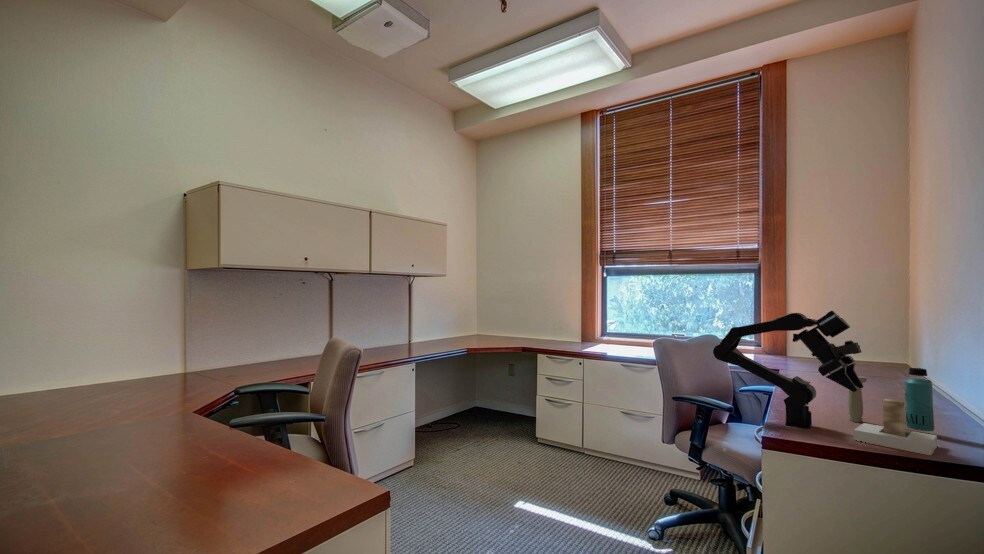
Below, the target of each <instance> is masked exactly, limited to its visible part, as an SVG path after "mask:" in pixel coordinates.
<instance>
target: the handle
mask: <svg viewBox="0 0 984 554" xmlns="http://www.w3.org/2000/svg"><path fill="white" fill-rule="evenodd" d="M857 376H858V378H859V379H860V381H861V383H862V384H863V383H866V382H867V380H868V379H867V377H866V376H861V375H857ZM855 387H856V388H857V391H856V392H853V391H851V390H849V389H847V390H848V393H847V395H848V396H847V409H848V415H849V421H852V422H855V423H863V416H864V415H863V414H864V402H863V393H862V388H858V387H857V386H855Z"/></svg>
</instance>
